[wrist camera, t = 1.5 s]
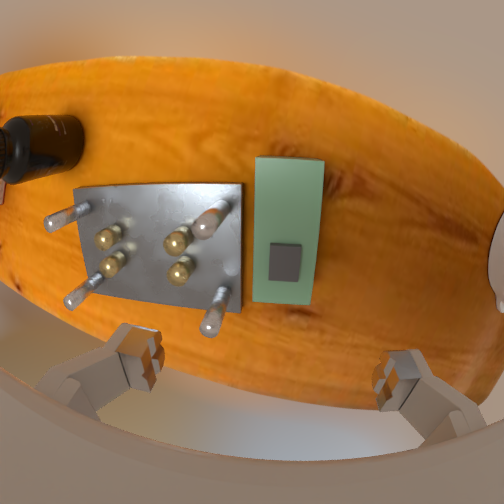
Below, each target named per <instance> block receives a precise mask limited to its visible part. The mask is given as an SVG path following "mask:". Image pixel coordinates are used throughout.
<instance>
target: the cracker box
mask: <svg viewBox="0 0 504 504" xmlns="http://www.w3.org/2000/svg"><path fill="white" fill-rule="evenodd" d="M5 184H6V182H4V181H3V180H2V179H0V205H2V204H3V201H4V192H5Z"/></svg>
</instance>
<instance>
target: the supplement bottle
mask: <svg viewBox="0 0 504 504" xmlns="http://www.w3.org/2000/svg"><path fill="white" fill-rule="evenodd" d="M82 148H83V131H82V128H81V125H80V123H79V122H78V121H77V119H76V118H74V117H72V116H70V115H27V116H16V117H13V118H11V119H10V120H8V121H7V122H6V123H5V124H4V126H3V127H0V179H2V180H3V181H4V182H6V183H8V184H10V185H16V184H20V183H23V182H27V181H30V180H34V179H38V178H42V177H45V176H49V175H53V174H58V173H62V172H65V171H68V170H69V169H71V168H72V167H73V166H74V165H75V164H76V163H77V161H78V159H79V157H80V155H81V152H82Z"/></svg>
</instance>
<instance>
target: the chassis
mask: <svg viewBox="0 0 504 504" xmlns="http://www.w3.org/2000/svg"><path fill="white" fill-rule="evenodd" d="M73 194H74V203H75V205H73V206H70V207H68V208H65V209H63V210H61V211H58V212H56V213H54V214H51V215H49V216H47V217H45V219H44V226H45V229H46V230H47V231H48V232H49V233H52V232H54V231H56V230H57V229H59V228H61V227H63V226H65V225H67V224H69V223H71V222H74V221H76V220H77V224H78V231H79V236H80V242H81V247H82V252H83V257H84V262H85V266H86V271H87V275H88V279H86V280H85V281H84V282H83V283H82V284H80V285H79V286H78V287H77V288H76V289H74V290H73V291H72V292H71V293H70V294H68V295H67V296H66V297H65V298H64V299H63V302H64V305H65V306H66V308H67V309H69V310H71V311H73V310H74V309H75V308H76V307H77V306H78V305H79V304H80V303H82V302H83V301H84V300H85V299H86V298H87V297H88V296H89V295H90V294H91V293H97V294H102V295H108V296H113V297H119V298H125V299H131V300H138V301H144V302H151V303H158V304H165V305H172V306H180V307H188V308H196V309H205V310H207V312H206V314H205V316H204V318H203V321H202V323H201V325H200V328H199V329H200V332H201V333H202V334H203V335H204V336H206V337H209V338H213V337H216V336H217V335H218V332H219V329H220V327H221V324H222V321H223V318H224V315H225V312H233V313H241V310H242V257H243V183H237V182H161V183H133V184H115V185H100V186H87V187H78V188H75V189H73Z"/></svg>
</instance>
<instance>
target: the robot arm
mask: <svg viewBox="0 0 504 504" xmlns="http://www.w3.org/2000/svg"><path fill="white" fill-rule="evenodd" d="M488 275H489V281H490V284H491V287H492V289H493V291H494V292H495V294H496V305H497V309H498V310H499V311H500V312H501V313H504V214H503V215H502V217H501V219H500V221H499V223H498V226H497V228H496V231H495V234H494V237H493V240H492V244H491V249H490V254H489V263H488ZM161 341H162V335H161V332H160V331H158V330H154V329H149V328H145V327H141V326H136V325H131V324H127V323H122V324H121V325H120V326H119V327H118V329H117V330H116V331H115V332H114V334H113V335H112V336H111V338H110V339H109V340H108V341H107V343H106V344H105V345H104V347H103V348H100V347H99V348H96V349H94V350H91V351H89V352H87V353H84V354H82V355H80V356H77V357H75V358H72V359H70V360H68V361H65V362H63V363H61V364H58V365H56V366H53V367H51V368H50V369H49V370H48V371H47V372H46V374H45V375H44V376H43V377H42V379H41V380H40V381H39V382H38V384H37V385H36V386H35V388H32V387H31V386H29V385H27V384H26V383H24V382H23V381H21V380H19V379H18V378H16V377H15V376H13V375H12V374H10V373H9V372H7V371H6V370H5V369H3V368H2V367H0V504H504V419H502V420H500V421H498V422H495V423H493V424H491V425H488V426H487V425H486V422H485V420H484V418H483V416H482V414H481V412H480V410H479V408H478V406H477V404H476V403H474V402H473V401H471V400H470V399H469V398H467V397H466V396H464V395H463V394H461V393H460V392H459V391H457V390H456V389H454V388H453V387H451V386H450V385H448V384H447V383H446V382H444V381H443V380H441V379H440V378H438V377H437V376H436V377H434V376H433V374H432V372H431V370H430V368H429V366H428V365H427V363H426V361H425V359H424V357H423V355H422V353H421V352H420V350H418V349H409V350H392V351H383V353H382V354H381V356H380V358H379V359H380V362H381V363H380V364H379V365H377V366H376V367H375V369H374V371H373V374H372V387H373V390H374V391H375V392H376V393H377V394H378V396H377V398H376V401H377V404H378V408H379V411H380V412H386V411H398V410H399V412H400V413H401V414H402V415H403V417H404V418H405V419H406V420H407V421H408V422H409V423H410V424H411V425H412V426H413V427H414V428H415V429H416V430H417V431H418V432H419V434H420V435H421V436H422V437H423V438H424V439H425V441H424V442H423V443H422V444H421V445H420V446H419V447H418V448H416V449H411V450H407V451H402V452H397V453H391V454H385V455H379V456H372V457H364V458H354V459H342V460H327V461H326V460H325V461H282V460H280V461H279V460H264V459H252V458H242V457H234V456H226V455H220V454H213V453H208V452H202V451H197V450H192V449H188V448H183V447H179V446H175V445H171V444H167V443H163V442H159V441H156V440H152V439H149V438H145V437H142V436H139V435H136V434H133V433H130V432H127V431H124V430H121V429H118V428H116V427H113V426H110V425H108V424H105V423H103V422H101V420H100V418H99V416H98V415H97V413H96V411H97V410H99V409H100V408H102V407H103V406H105V405H106V404H108V403H109V402H111V401H112V400H114V399H115V398H117V397H118V396H120V395H121V394H123V393H124V392H126V391H127V390H128V389H130V387H131V388H134V389H138V390H142V391H146V392H151V390H152V388H153V386H154V384H155V382H156V376H155V374H157V373H159V372H161V369H162V367H163V364H164V359H165V352H164V348H163V347H162V346H161V345H160V343H161Z"/></svg>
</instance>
